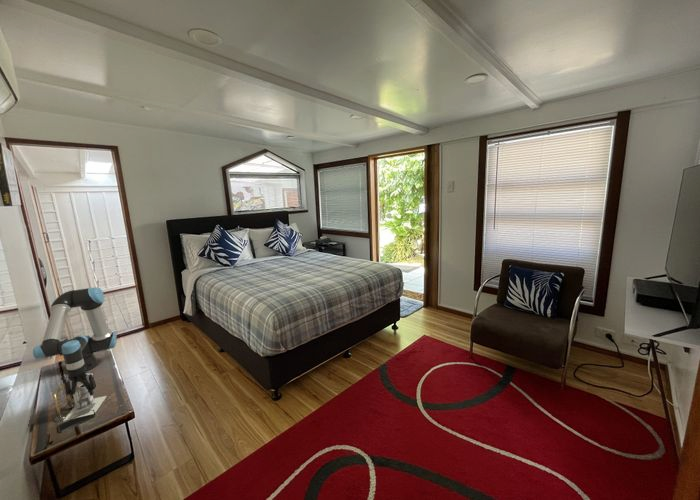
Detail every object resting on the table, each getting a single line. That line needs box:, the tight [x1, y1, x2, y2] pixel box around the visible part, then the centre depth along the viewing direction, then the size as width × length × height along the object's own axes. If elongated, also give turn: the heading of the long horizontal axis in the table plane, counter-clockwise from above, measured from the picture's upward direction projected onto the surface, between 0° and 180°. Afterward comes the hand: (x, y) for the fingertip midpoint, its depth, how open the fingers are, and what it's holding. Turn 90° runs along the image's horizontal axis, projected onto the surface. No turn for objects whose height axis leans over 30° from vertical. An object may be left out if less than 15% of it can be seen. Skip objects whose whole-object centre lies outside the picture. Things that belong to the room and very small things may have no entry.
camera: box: [73, 383, 96, 414], centre depth 167 cm, size 9×12×15 cm
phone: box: [57, 410, 97, 434], centre depth 159 cm, size 8×1×15 cm
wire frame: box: [52, 383, 75, 422], centre depth 164 cm, size 15×5×16 cm, turn 20°
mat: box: [62, 395, 107, 423], centre depth 168 cm, size 16×14×1 cm
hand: (84, 401), depth 167 cm, fingers closed on camera, 6 cm apart
